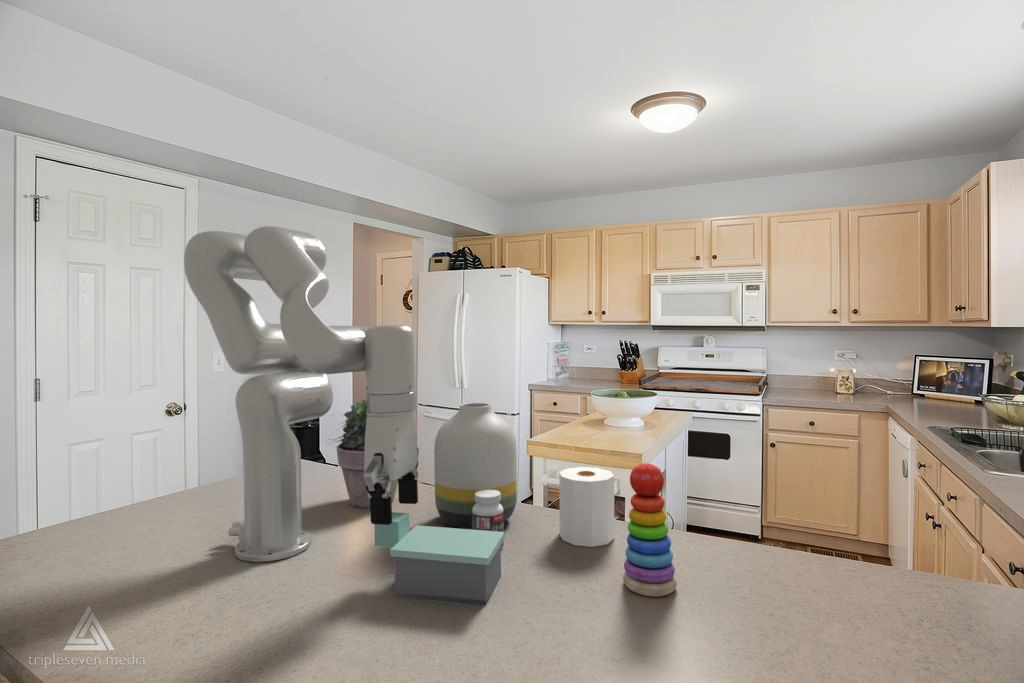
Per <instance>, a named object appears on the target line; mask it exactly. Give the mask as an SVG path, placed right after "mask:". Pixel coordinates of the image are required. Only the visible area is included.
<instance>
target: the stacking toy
mask: <svg viewBox="0 0 1024 683" xmlns="http://www.w3.org/2000/svg"><path fill="white" fill-rule="evenodd" d="M629 484H630V487H631V488H632V490H633V491H634V492H635V493H634V494H633V495H632V496H631V498H630V505H631V507H632V508H631V509H630V510H629V512H628V517H629V519H630V521H629V522H628V523H627V530H628V532H629V533H628V535H627V536H626V542H627V546H626V548H625V557H626V558H625V559H624V563H623V568H624V572H623V576H622V580H623V583H624V585H625V586H626V588H627V589H628V590H630V591H632V592H633V593H636V594H638V595H641V596H645V597H654V598H656V597H664V596H666V595H670V594H671V593H673V592H674V591H675V589H676V588H677V579H676V576H675V572H676V570H675V565H674V564H673V558H674V554H673V552H672V549H671V545H672V540H671V538H670V536H669V535H668V533H669V527H668V525H667V523H666V520H667V514H666V511H665V510H664V509H663V508H664V507H665V499H664V497H663V496H662V495H661V494H660V492H661V491H662V490H663V488H664V485H665V478H664V474H663V473H662V471H661V469H660V468H659V467H657V466H656V465H655V464H652V463H647V462H644V463H640V464H637V465H636V466H634V468H633V469H632V471H631V473H630V476H629Z"/></svg>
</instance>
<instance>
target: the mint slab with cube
mask: <svg viewBox="0 0 1024 683" xmlns="http://www.w3.org/2000/svg"><path fill="white" fill-rule="evenodd" d="M505 537H506V536H505V531H504V532H497V531H484V530H472V529H467V528H459V527H456V528H455V527H443V526H430V525H429V526H428V525H417V524H416V525H415V526H414V527H413V528H412V529H411V530H410V513H407V512H394V511H392V523H391V524H389V525H382V524H374V546H375V547H381V548H390V549H389V553H390V554H389V557H394V558H395V557H404V558H415V559H426V560H437V561H448V562H459V563H470V564H481V565H489V563H490V562H491V560H492V558H493V557H494V555H495V553H496V552H497V550H498V548H499V547H500V545H501V543H502V542H503V540H505Z"/></svg>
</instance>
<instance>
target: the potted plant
mask: <svg viewBox="0 0 1024 683" xmlns="http://www.w3.org/2000/svg"><path fill="white" fill-rule="evenodd" d="M350 409H351V411H347V412H345V413H343V414H340V415H341V416H343V415H344V417H345V418H347V419H345V421H342V422H341V423H339V425H341V424H344V425H342V426H341V427H340V428H339V429H342V430H343V432H344V433H342V435H341V436H339V437H337V438H336V439H332V438H331V439H330V438H328V439H327V440H326V441H328V440H331V441H330V444H331V443H335V442H337V443H339V444H337V446H336V454H337V464H338V466H339V467H340V468H341V472H342V475H343V478H344V480H343V481H344V483H345V487H346V491H347V494H348V499H349V504H350V505H351V504H352V506H353V507H355V506H357V507H356V508H360V507H363V508H362V509H367V508H366V507H370V498H369V497H368V491H367V490H366V483H365V480H364V451H365V431H366V423H367V417H368V415H367V399H363V400H361V402H360V401H357V402H356V405H354V404H352V405H351V406H350ZM330 416H333V414H331V415H330ZM339 429H337V431H338V430H339ZM331 435H333V434H331ZM331 435H330V436H331ZM338 439H340V440H338ZM340 442H341V443H340ZM381 476H382V475H381ZM380 484H381V486H382V487H383V488H384V485H385V483H380ZM397 490H398V479H397V480H396V481H393V482H392V485H391V489H390V492H389V496H388V497H391V500H392V503H393V502H394V500H395V497H396V493H397Z"/></svg>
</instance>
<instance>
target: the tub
mask: <svg viewBox="0 0 1024 683" xmlns="http://www.w3.org/2000/svg"><path fill="white" fill-rule="evenodd" d="M501 578H502V549H501V545H500V547H499V548H498V550H497V552H496V553H495V555H494V557H493V558H492V560H491V562H490V563H489V565H481V564H470V563H459V562H448V561H437V560H426V559H415V558H404V557H394V584H395V585H394V587H395V588H394V591H395V592H394V593H395V594H394V595H395V596H400V597H410V598H418V599H419V598H420V599H427V600H437V601H438V600H439V601H447V602H455V603H465V604H474V605H483V606H487V604H488V602H489V601H490V598H491V597H492V595H493V593H494V591H495V589H496V587H497V585H498V583H499V581H500V579H501Z"/></svg>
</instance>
